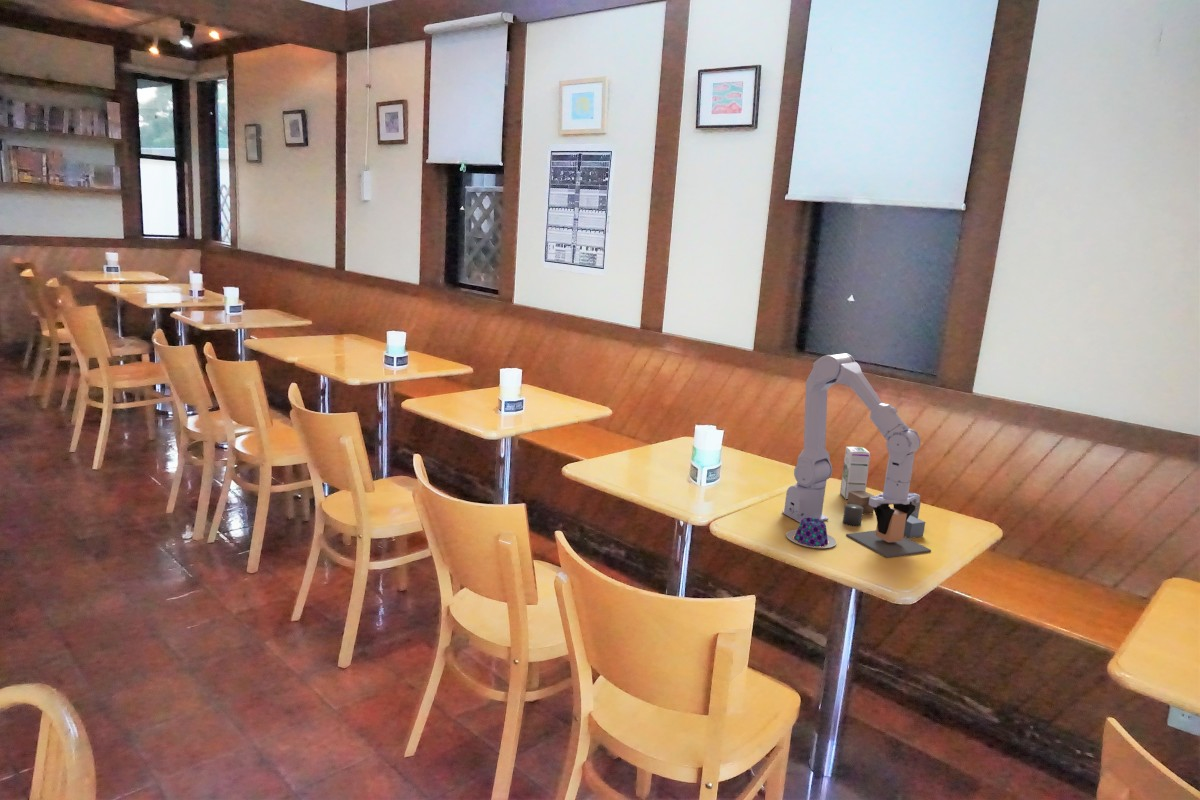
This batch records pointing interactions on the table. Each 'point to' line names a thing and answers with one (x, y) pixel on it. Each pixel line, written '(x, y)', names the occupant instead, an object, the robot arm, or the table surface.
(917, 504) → the dark steel can
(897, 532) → the terracotta block
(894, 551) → the charcoal mat
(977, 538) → the table surface
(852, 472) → the syrup box
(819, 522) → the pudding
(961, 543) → the table surface
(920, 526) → the slate blue block
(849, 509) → the charcoal cylinder
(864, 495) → the walnut block
